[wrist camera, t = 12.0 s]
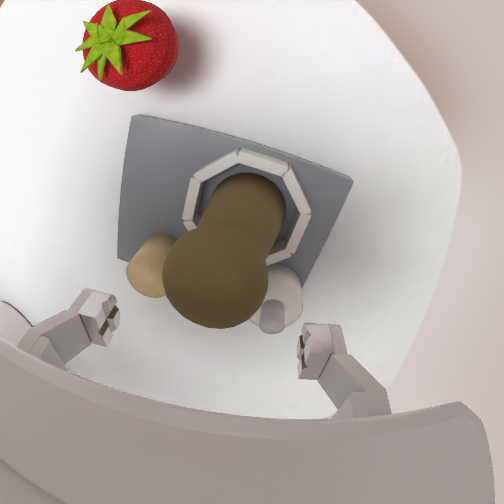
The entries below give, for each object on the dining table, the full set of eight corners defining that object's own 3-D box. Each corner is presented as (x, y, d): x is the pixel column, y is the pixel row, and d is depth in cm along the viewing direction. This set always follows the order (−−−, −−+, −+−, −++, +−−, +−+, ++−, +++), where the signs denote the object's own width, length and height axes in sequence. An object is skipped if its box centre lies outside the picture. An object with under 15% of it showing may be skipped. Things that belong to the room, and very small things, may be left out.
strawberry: (166, 4, 14) (99, -38, 5) (216, 62, 16) (167, 33, 8) (113, 49, 16) (29, 40, 7) (157, 107, 19) (79, 120, 10)
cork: (195, 210, 22) (125, 292, 12) (243, 156, 19) (187, 207, 10) (250, 257, 23) (218, 361, 14) (302, 210, 20) (304, 306, 11)
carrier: (288, 303, 28) (289, 350, 22) (122, 252, 26) (92, 288, 21) (349, 177, 20) (373, 205, 15) (138, 114, 19) (95, 123, 14)
